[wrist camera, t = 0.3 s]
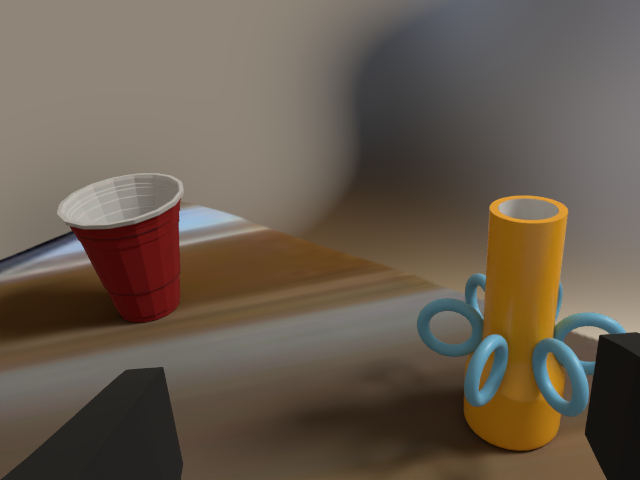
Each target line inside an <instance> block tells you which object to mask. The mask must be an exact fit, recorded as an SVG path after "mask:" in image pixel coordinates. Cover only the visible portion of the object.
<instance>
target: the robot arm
mask: <svg viewBox="0 0 640 480" xmlns="http://www.w3.org/2000/svg"><path fill="white" fill-rule="evenodd" d="M585 436H586V438H587V440H588V442H589V444H590V446H591V448H592V450H593V452H594V454H595V456H596V459H597V461H598V463H599V465H600V467H601V469H602V471H603V473H604V474H605V476H606V478H607V480H640V333H637V332H634V333H620V334H606V335H600V336H599V341H598V348H597V355H596V362H595V368H594V375H593V382H592V388H591V395H590V402H589V409H588V415H587V422H586V429H585ZM182 467H183V461H182V456H181V452H180V447H179V442H178V437H177V432H176V427H175V422H174V417H173V412H172V408H171V403H170V398H169V393H168V388H167V383H166V378H165V373H164V369H163V367H157V368H144V369H130V370H125V371H124V372H123V373H122V374H120V375H119V376H118V377H117V378H116V379H115V380H113V381H112V382H111V383H110V384H109V385H108V386H107V387H105V388H104V389H103V390H102V391H101V392H100V393H99V394H98V395H97V396H95V397H94V398H93V399H92V400H91V401H90V402H89V403H88V404H87V405H86V406H84V407H83V408H82V409H81V410H80V411H79V412H78V413H77V414H76V415H75V416H74V417H72V418H71V419H70V420H69V421H68V422H67V423H66V424H65V425H63V426H62V427H61V428H60V429H59V430H58V431H57V432H56V433H54V434H53V435H52V436H51V437H50V438H49V439H48V440H47V441H45V442H44V443H43V444H42V445H41V446H40V447H39V448H38V449H37V450H35V451H34V452H33V453H32V454H31V455H30V456H29V457H27V458H26V459H25V460H24V461H23V462H21V463H20V464H19V465H18V466H17V467H15V468H14V469H13V470H12V471H11V472H9V473H8V474H7V475H6V476H5V477H3V478H2V479H1V480H181V474H182Z"/></svg>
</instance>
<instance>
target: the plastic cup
mask: <svg viewBox="0 0 640 480" xmlns="http://www.w3.org/2000/svg"><path fill="white" fill-rule="evenodd" d="M183 191H184V190H183V186H182V182H181V181H180V180H178V179H176V178H175V177H173V176H170V175H163V174H157V173H146V174H131V175H125V176H119V177H113V178H110V179H106V180H103V181H100V182H97V183H93V184H90V185H88V186H86V187H84V188H82V189H80V190H78V191H76V192H74V193H72V194H71V195H69V196H68V197H67V198H66V199H65V200H63V201H62V202H61V203H60V205H59V208H58V211H57V215H58V216H59V217H60V218H61V219H62V220H63V221H64V222H65V223H66V224H67V225H68V226H70V228H71V230H72V231H73V232H74V233H75V235H76V236H77V238H78V240H79V241H80V242H81V244H82V246H83V247H84V249H85V251H86V253H87V255H88V257H89V259H90V261H91V263H92V265H93V267H94V269H95V271H96V273H97V274H98V276H99V278H100V280H101V282H102V284H103V286H104V288H105V289H106V290H107V291H108V294H109V296H110V298H111V300H112V302H113V304H114V306H115V308H116V310H117V311H118V312H119V313H120V315H121V316H122V317H123V319H124V320H127V321H130V322H148V321H153V320H157V319H159V318H162V317H164V316H166V315H168V314H170V313H171V312H172V311H174V310H175V309H176V308H177V306H178V304H179V298H180V280H179V273H180V252H179V224H178V222H179V211H180V200H181V197H182V196H183Z"/></svg>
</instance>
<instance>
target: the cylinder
mask: <svg viewBox="0 0 640 480" xmlns="http://www.w3.org/2000/svg"><path fill="white" fill-rule="evenodd" d="M567 215H568V209H567V208H566V206H564V205H563V204H561V203H559V202H557V201H555V200H552V199H548V198H543V197H536V196H511V197H506V198H501V199H499V200H496V201H494V202H493V203H492V204H491V205H490V213H489V231H488V249H487V267H486V276H485V275H483V274H474V275H472V276H471V277H470V278H469V279H468V281H467V283H466V287H465V300H466V303H465V302H463V301H460V300H457V299H451V298H445V299H438V300H435V301H433V302H431V303H429V304H428V305H426V306H425V307H424V308H423V309H422V311H421V312H420V314H419V317H418V320H417V329H418V333H419V335H420V337H421V339H422V341H423V342H424V343H425V344H426V345H427V346H428V347H429V348H430V349H432V350H433V351H435V352H437V353H439V354H442V355H445V356H451V357H459V356H464V355H467V354H469V355H468V357H467V360H466V365H465V382H464V415H465V418H466V421H467V423H468V425H469V426H470V428H471V429H472V430H473V431H474V433H475V434H477V435H478V436H479V437H480V438H482V439H483V440H485V441H487V442H488V443H490V444H493V445H495V446H497V447H500V448H505V449H508V450H516V451H527V450H532V449H537V448H540V447H542V446H545V445H546V444H547V443H549V442H550V441H551V440H552V439H553V438H554V437H555V435H556V434H557V432H558V429H559V424H560V417H561V414H562V415H565V416H570V417H572V416H577V415H579V414H581V413H582V412H583V411H584V409H585V408H586V406H587V403H588V397H589V389H588V382H587V378H586V375H594V368H595V362H584V361H580V360H578V358H577V356H576V355H575V354H574V352H573V351H572V350H571V349H570V348H569V347H568V346H567V345H566V344H564V339H565V337H566V335H567V334H568V333H569V332H570V331H572V330H573V329H575V328H578V327H582V326H595V327H599V328H601V329H604V330H605V331H607V332H608V333H609V334H620V333H626V331H625V330H624V328H623V327H622V326H621V325H620V324H619V323H618V322H616V321H615V320H613V319H611V318H610V317H607V316H605V315H601V314H597V313H578V314H574V315H571V316H569V317H566V318H565V319H563V320H562V321H561V322H559V323H558V324H557V325H556V326H555V321H556V319H557V317H558V314H559V310H560V307H561V301H562V285H561V282H560V273H561V265H562V257H563V249H564V241H565V232H566V223H567ZM478 285H479V286H481V287H482V288H483V290H484V292H485V302H484V318H483V317H482V315H481V313H480V310H479V307H478V304H477V298H476V290H477V286H478ZM441 311H454V312H457V313H460V314H462V315H463V316H465V317H466V318H467V319H468V320H469V321H470V323H471V325H472V335H471V337H470V338H469V339H468V340H467V341H466V342H464V343H461V344H457V345H451V344H446V343H443V342H441V341H439V340H438V339H436V338H435V337H434V336H433V334H432V333H431V331H430V328H429V322H430V320H431V318H432V317H433V316H434V315H435V314H436V313H438V312H441ZM554 326H555V327H554ZM562 366H564V367H565V368H566V370H567V372H568V374H569V377H570V380H571V384H572V398H571V400H570V401H569V402H568V401H565V400H564V399H563V395H564V388H565V372H564V369H563V367H562Z"/></svg>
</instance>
